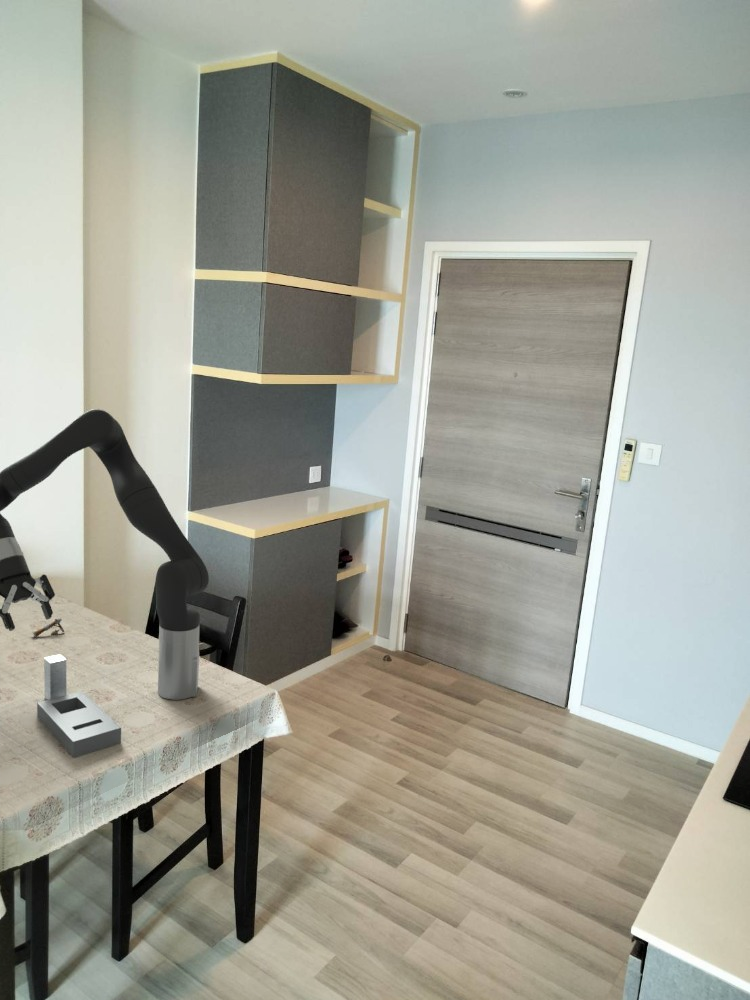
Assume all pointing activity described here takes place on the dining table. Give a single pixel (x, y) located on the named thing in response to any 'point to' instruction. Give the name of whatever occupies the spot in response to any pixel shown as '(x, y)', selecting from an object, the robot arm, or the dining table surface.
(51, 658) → the grey square peg
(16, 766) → the dining table surface
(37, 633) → the brown lamp post
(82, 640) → the dining table surface
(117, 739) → the holder
